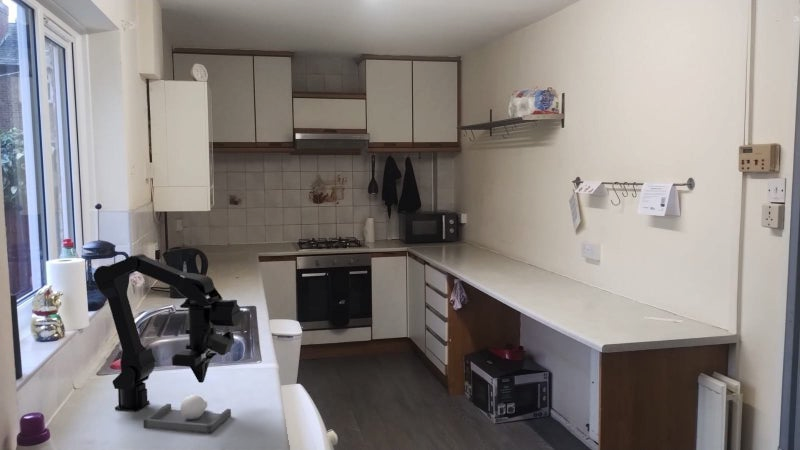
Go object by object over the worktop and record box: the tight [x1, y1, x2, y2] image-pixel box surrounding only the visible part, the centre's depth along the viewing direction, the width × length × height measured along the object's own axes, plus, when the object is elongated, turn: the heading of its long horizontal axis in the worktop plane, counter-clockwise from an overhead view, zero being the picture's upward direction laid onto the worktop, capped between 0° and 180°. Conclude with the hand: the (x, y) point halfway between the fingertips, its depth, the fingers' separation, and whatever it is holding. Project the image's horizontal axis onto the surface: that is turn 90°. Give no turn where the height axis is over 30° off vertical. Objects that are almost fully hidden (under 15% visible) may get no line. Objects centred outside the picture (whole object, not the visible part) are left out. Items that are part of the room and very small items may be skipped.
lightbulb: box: [179, 394, 208, 420], centre depth 162 cm, size 6×6×11 cm
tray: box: [142, 403, 232, 435], centre depth 159 cm, size 18×11×2 cm, turn 80°
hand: (201, 382), depth 165 cm, fingers closed
